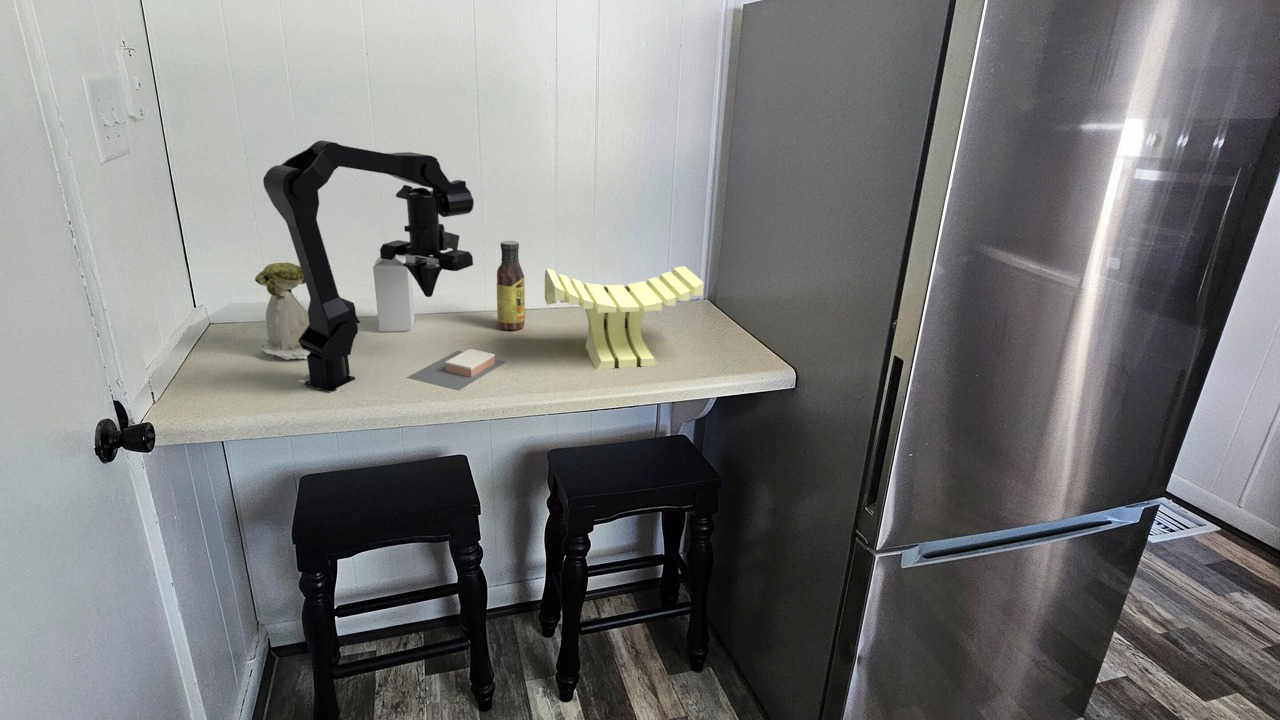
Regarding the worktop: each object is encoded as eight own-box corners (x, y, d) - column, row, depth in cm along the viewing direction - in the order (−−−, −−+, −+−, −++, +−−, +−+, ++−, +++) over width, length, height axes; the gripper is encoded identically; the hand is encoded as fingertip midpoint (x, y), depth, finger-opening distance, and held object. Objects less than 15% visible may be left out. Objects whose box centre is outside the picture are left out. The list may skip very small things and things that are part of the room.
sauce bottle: (522, 332, 163) (521, 246, 155) (495, 330, 163) (492, 245, 155) (527, 322, 169) (526, 240, 161) (500, 321, 169) (498, 238, 161)
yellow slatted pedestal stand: (675, 337, 164) (680, 262, 157) (697, 364, 150) (703, 282, 143) (544, 343, 157) (544, 264, 150) (554, 372, 143) (554, 286, 136)
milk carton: (379, 332, 158) (371, 248, 151) (383, 322, 165) (375, 241, 157) (412, 331, 160) (406, 248, 153) (415, 321, 166) (409, 241, 159)
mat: (458, 392, 132) (458, 390, 132) (406, 379, 136) (406, 377, 136) (506, 363, 146) (506, 361, 145) (458, 352, 150) (457, 350, 150)
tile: (445, 371, 139) (471, 377, 137) (445, 361, 139) (471, 367, 137) (470, 357, 146) (495, 363, 144) (469, 348, 146) (494, 354, 143)
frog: (282, 367, 139) (268, 275, 132) (249, 350, 146) (234, 262, 139) (339, 350, 148) (328, 264, 141) (305, 335, 155) (293, 252, 148)
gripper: (487, 219, 143) (490, 293, 149) (412, 208, 149) (418, 280, 155) (453, 228, 133) (457, 308, 139) (374, 216, 140) (382, 293, 146)
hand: (428, 296), depth 145 cm, fingers closed
